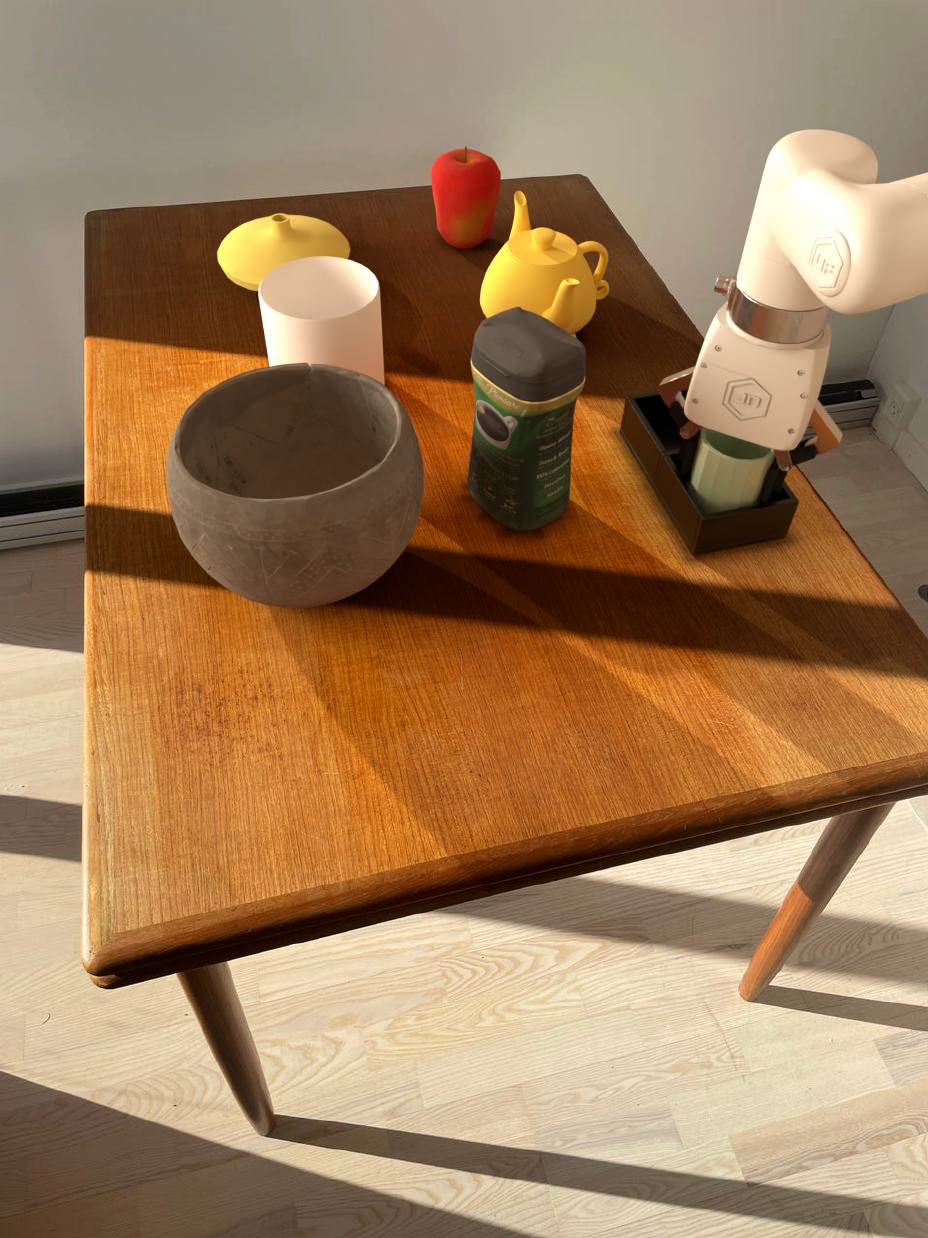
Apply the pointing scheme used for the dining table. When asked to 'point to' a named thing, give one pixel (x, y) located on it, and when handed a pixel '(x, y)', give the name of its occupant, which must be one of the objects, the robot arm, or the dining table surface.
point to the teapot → (544, 275)
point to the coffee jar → (523, 417)
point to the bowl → (296, 483)
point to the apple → (465, 196)
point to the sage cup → (728, 471)
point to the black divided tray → (658, 459)
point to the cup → (323, 315)
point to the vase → (276, 246)
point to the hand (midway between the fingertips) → (727, 478)
